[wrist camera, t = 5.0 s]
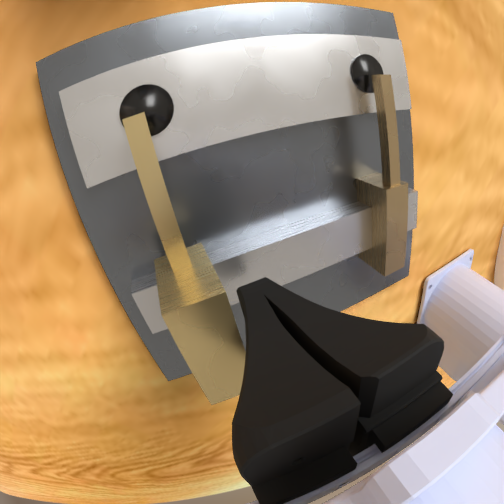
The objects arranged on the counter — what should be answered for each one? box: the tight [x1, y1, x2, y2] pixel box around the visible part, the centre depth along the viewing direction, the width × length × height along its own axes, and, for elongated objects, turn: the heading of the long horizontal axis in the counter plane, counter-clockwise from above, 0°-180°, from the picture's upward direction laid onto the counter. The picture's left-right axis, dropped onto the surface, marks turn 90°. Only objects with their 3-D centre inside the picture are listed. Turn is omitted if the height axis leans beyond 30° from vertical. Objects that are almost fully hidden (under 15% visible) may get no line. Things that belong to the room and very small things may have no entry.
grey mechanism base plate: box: [36, 2, 418, 381], centre depth 13 cm, size 18×18×3 cm
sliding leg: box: [122, 112, 246, 405], centre depth 10 cm, size 10×2×4 cm, turn 12°
